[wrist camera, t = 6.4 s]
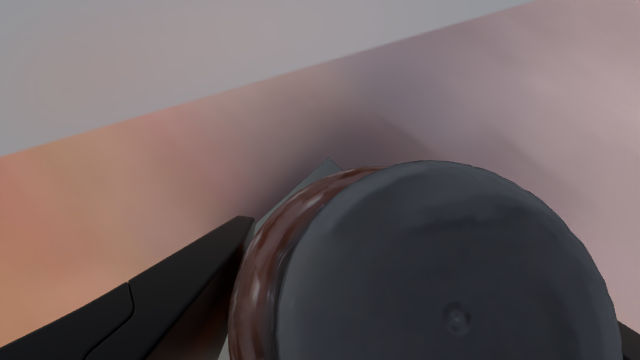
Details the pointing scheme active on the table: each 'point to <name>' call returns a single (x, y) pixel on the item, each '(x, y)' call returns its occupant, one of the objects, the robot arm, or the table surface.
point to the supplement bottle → (419, 273)
